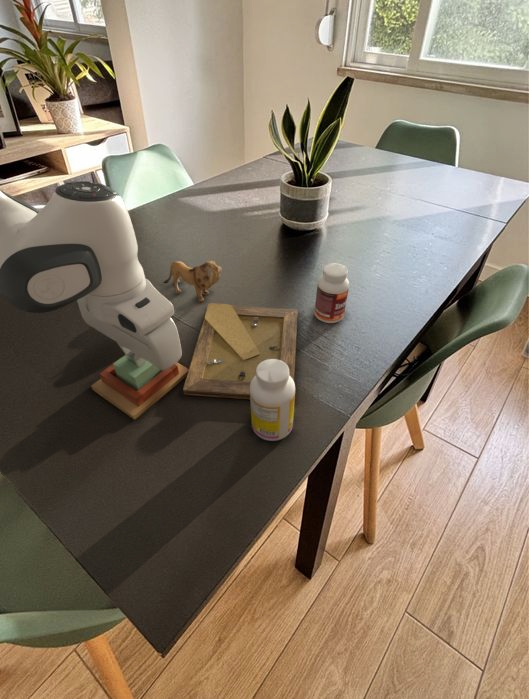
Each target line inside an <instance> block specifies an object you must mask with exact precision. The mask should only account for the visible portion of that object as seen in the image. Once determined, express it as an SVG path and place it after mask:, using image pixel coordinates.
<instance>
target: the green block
mask: <svg viewBox="0 0 529 699" xmlns="http://www.w3.org/2000/svg"><path fill="white" fill-rule="evenodd" d="M112 364H113V365H114V368H115V371H116V374H117V377H118V379H119V380H121V381H122V382H124V383H125V384H127V385H128V386H130V387H131V388H133V389H134V390H136V391H138V390H139V389H141V388H142V387H143V386H144V385H146V384H147V383H148V382H150V381H151V380H152V379H153V378H155V377H156V376H157V375H158V374H160V373H161V372H162V370H161V369H159V368H158V367H156V366H154V365H153V364H151V363H150V362H148V361H146V362H145V363H144V364H143V365H142V366H140V367H138V366H137V365H135V364H134V363H132V362H131V361H129V360H127V358H126V355H125V354H124V355H123V356H122V357H120V358H119V359H118V360H116V361H114V362H113V363H112Z"/></svg>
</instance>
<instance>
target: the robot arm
mask: <svg viewBox="0 0 529 699" xmlns="http://www.w3.org/2000/svg"><path fill="white" fill-rule="evenodd" d="M138 252H139V246H138V241H137V237H136V233H135V229H134V225H133V223H132V220H131V216H130V212H129V210H128V208H127V206H126V204H125V201H124V200H123V197H122V196H121V195H120V194H119V193H118V192H116V190H114V189H113V188H111V187H109V186H108V185H106V184H103V183H100V182H93V181H87V180H85V181H84V180H77V181H70V182H65V183H63V184H60V185H58V186H56V188H55V189H54V191H53V193H52V195H51V197H50V199H49V200H48V202H47V203H46V204H45V205H44V206H43V208H42V209H41V210H39V209H38V208H36V207H35V206H33V205H31V204H29V203H27V202H25V201H24V200H21V199H19V198H18V197H15V196H13V195H11V194H9V193H8V192H5V191H4V190H2V189H0V294H1V296H2V297H3V299H4V300H5V301H6V302H7V303H8V304H9V305H11V306H12V307H14V308H16V309H18V310H20V311H23V312H27V313H33V314H46V313H50V312H54V311H57V310H59V309H61V308H64V307H67V306H68V305H70V304H72V303H75V302H77V305H78V310H79V313H80V315H81V317H82V319H83V321H84V322H85V323H86V324H87V325H88V326H89V327H91V328H93V329H94V330H96V331H98V332H100V333H101V334H102V335H104V336H106V337H108V338H109V339H111V340H112V341H114V342H116V343H117V345H118V346H119V348H120V350H122V352H123V353H124V356H125V355H126V358H127V360H129V361H131V362H132V363H134V364H135V365H137V366H138V367H140V366H142V365H143V364H144V363H145V362H146V361H148V362H150V363H151V364H153V365H154V366H156V367H158V368H159V369H161V370H163V371H165V370H167V369H169V368H170V367H172V366H173V365H174V364H175V363H177V362H178V363H179V361H180V359H181V358H182V356H183V353H182V345H181V340H180V335H179V331H178V328H177V325H176V324H175V321H174V320H173V319H172V317H173V316H174V314H175V308H174V305H173V304H172V303H173V302H171V301H170V300H168V298H166V297H165V296H164V295H163V294H162V293H161V292H160V291H159V290H158V289H156V288H155V286H154V285H153V284H152V283H151V281H150V280H149V279H147V278H146V275H145V271H144V268H143V266H142V264H141V263H140V261H139V258H138V254H139V253H138Z"/></svg>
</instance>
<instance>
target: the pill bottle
mask: <svg viewBox="0 0 529 699" xmlns="http://www.w3.org/2000/svg"><path fill="white" fill-rule="evenodd" d="M348 273H349V272H348V268H347V267H346V266H345V265H344V264H340V263H333V262H332V263H327V264H326V265H324V266H323V269H322V274H321V276H319V278H318V280H317V285H316V294H315V302H314V303H315V304H314V316H315V317H316V319H317V320H319V321H321V322H322V323H326V324H335V323H336V324H337V323H339V322H340V321H341V320H343V319H344V316H345V312H346V307H347V300H348V295H349V289H350V280H349V279H348V278H347V277H348Z"/></svg>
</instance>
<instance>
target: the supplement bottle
mask: <svg viewBox="0 0 529 699" xmlns="http://www.w3.org/2000/svg"><path fill="white" fill-rule="evenodd" d="M295 399H296V383H295V380H294V381H293V379H292V378H291V377H290V376H289V368H288V366H287V365H286V364H285V363H284V362H282V361H280V360H277V359H268V360H265V361H263V362H261V363H260V364H259V365H258V366H257V369H256V376H255V377H254V378H253V379H252V381H251V384H250V399H249V400H250V415H251V416H250V418H251V419H250V420H251V421H250V422H251V427H252V431H253V432H254V433H255V435H256V436H258V437H259V438H260V439H262V440H264V441H268V442H269V441H270V442H276V441H281V440H283V439H284V438H286V437H287V436H288V435H290V433H291V431H292V429H293V427H294V416H295Z"/></svg>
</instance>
